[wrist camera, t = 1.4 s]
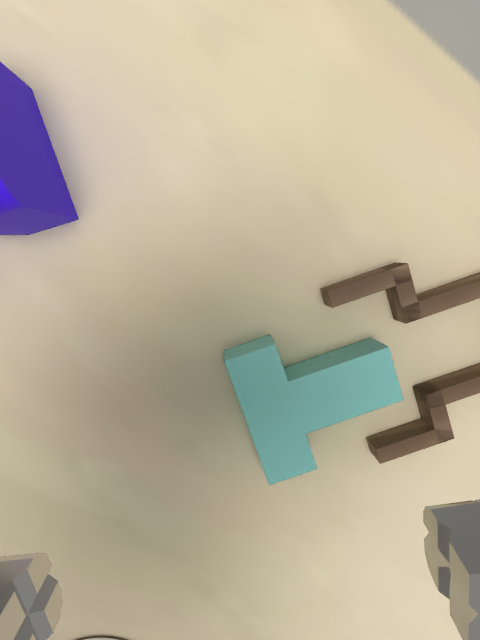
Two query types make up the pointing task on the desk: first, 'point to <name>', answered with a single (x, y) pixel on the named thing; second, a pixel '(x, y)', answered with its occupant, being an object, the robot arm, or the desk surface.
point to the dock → (428, 393)
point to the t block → (306, 396)
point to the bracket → (28, 165)
